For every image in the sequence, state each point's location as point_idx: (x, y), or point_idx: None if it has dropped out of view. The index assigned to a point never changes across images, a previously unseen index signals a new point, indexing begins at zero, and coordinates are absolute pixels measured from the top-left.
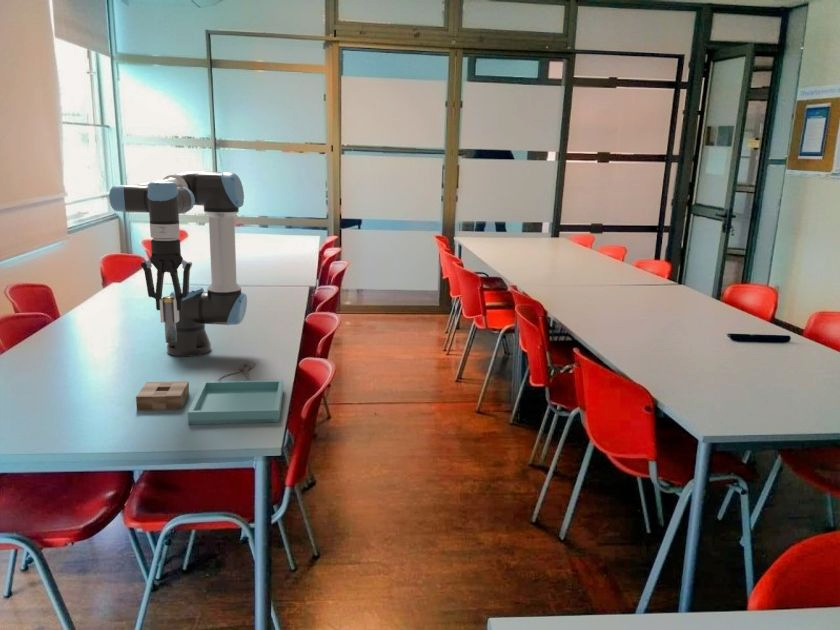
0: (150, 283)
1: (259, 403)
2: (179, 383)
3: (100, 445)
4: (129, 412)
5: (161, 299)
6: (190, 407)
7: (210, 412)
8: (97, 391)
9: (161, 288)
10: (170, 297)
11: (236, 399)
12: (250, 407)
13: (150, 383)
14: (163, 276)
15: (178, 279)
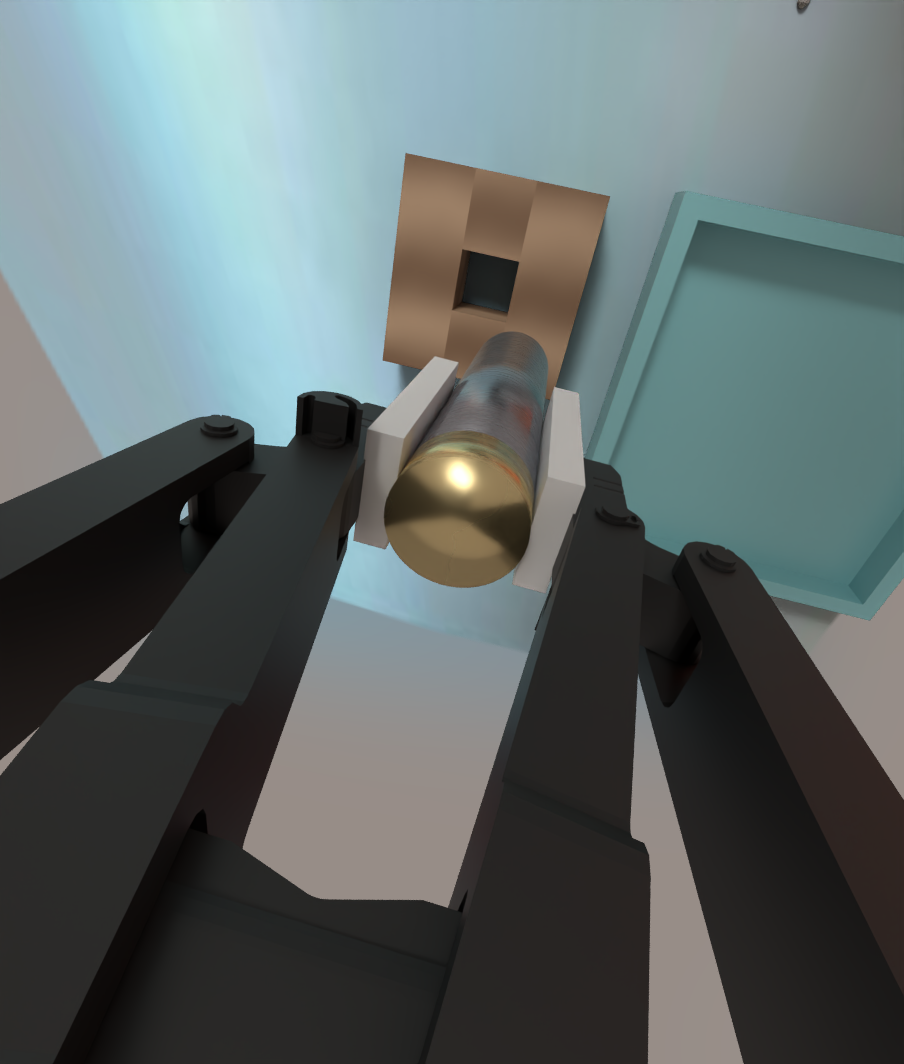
0: (118, 653)
1: (859, 453)
2: (561, 223)
3: (340, 572)
4: (375, 363)
5: (373, 520)
6: None
7: None
8: (194, 41)
9: (323, 580)
10: (478, 540)
11: (785, 381)
12: (804, 483)
13: (425, 185)
14: (257, 700)
15: (627, 732)
